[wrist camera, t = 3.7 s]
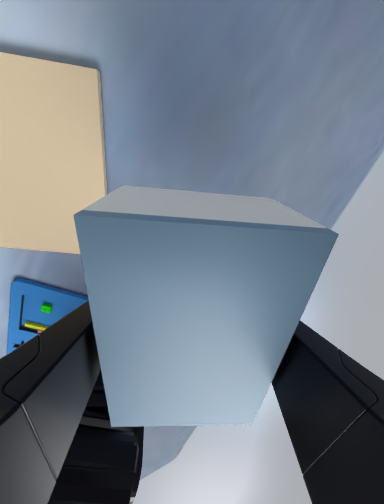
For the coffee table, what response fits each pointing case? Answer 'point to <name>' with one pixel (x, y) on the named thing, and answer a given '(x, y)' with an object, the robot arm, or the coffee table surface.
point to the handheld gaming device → (36, 309)
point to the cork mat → (48, 151)
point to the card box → (194, 300)
